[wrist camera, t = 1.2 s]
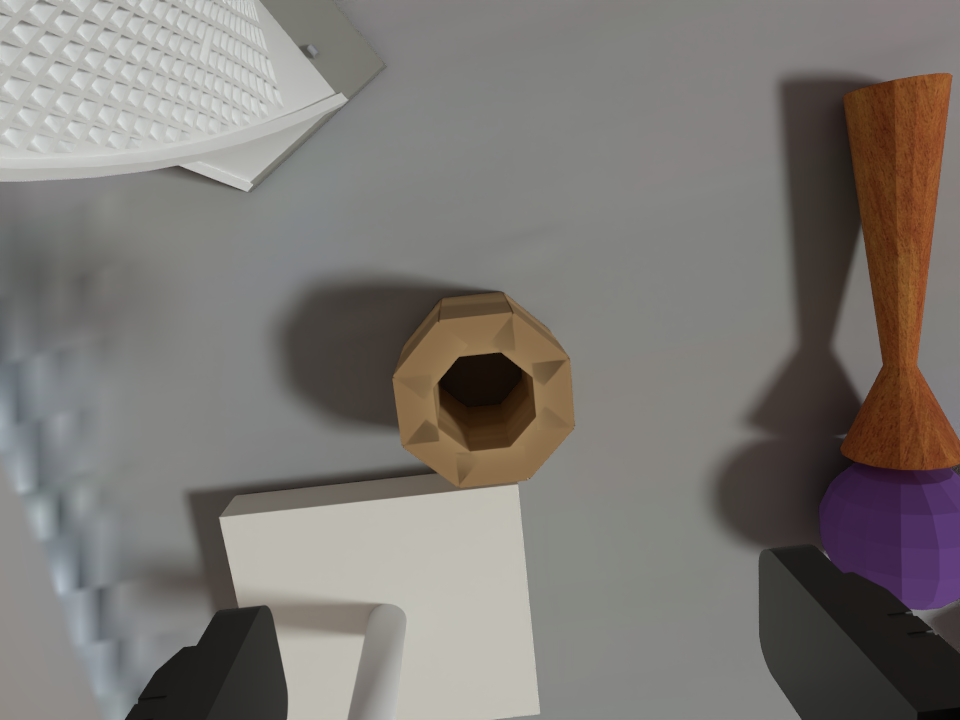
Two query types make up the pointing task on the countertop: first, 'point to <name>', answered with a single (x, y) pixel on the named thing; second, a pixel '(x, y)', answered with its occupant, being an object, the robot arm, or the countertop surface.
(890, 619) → the robot arm
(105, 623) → the countertop surface
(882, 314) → the kendama
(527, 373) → the bead
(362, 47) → the skyscraper
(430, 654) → the ring peg stand
